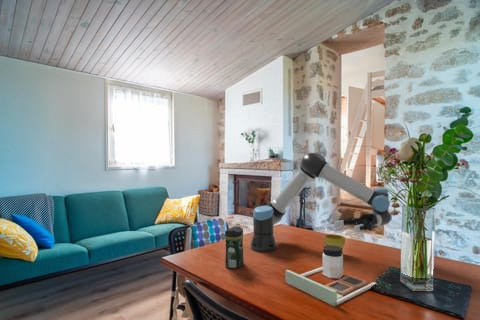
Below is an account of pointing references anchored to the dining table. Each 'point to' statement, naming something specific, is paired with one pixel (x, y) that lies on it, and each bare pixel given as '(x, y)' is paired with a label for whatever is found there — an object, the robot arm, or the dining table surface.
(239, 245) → the coffee jar
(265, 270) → the dining table surface
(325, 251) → the jar
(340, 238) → the plant pot
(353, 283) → the pale green u-shaped frame
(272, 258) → the dining table surface
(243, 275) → the dining table surface
